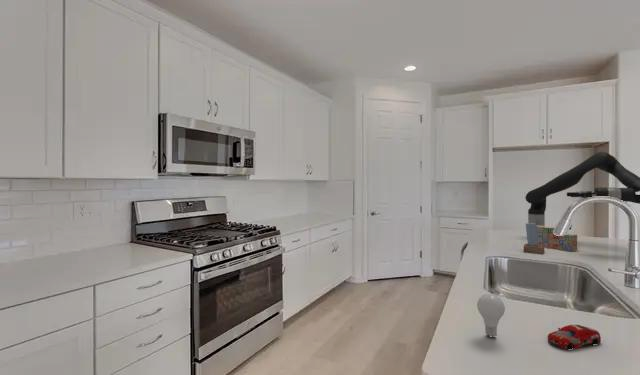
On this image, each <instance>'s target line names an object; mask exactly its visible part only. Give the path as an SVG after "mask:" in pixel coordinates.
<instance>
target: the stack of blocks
mask: <svg viewBox="0 0 640 375" xmlns="http://www.w3.org/2000/svg"><path fill="white" fill-rule="evenodd" d="M555 227H556V226H548V225H545V226H539V225H538V226H537V234H538V243H539V245H544V249H545V248H546V249H551V250H558V251H564V252H571V253H572V252H577V251H578V234H575V233H568V232H567V233H566V232H565V233H566V235H564V236H556V235H554V234H553V230H554V228H555Z"/></svg>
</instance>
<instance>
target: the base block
mask: <svg viewBox="0 0 640 375" xmlns="http://www.w3.org/2000/svg"><path fill="white" fill-rule="evenodd" d="M523 253H524V254H533V255H534V254H536V255H544V254H545V248H544V245H537V246H530V245H528V243H525V244H523Z"/></svg>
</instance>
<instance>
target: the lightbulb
mask: <svg viewBox="0 0 640 375" xmlns="http://www.w3.org/2000/svg"><path fill="white" fill-rule="evenodd" d="M476 307H477V311H478V313H479V314H480V316H481V318H482V319H483V323H484V327H485V328H484V330H485V332H484V333H486V334H487V335H489V336H496V337H497V336H498V334H497V332H498V331H497V330H498V326H499V322H500V320H501V318H502V317H503V316H504V315H505V312H506V308H505V304H504V302H503V300H502V299H501V298H500V297H498V296H497V295H496V294H491V293H487V294H486V293H485V294H483V295H481V296H480V297H479V298H478V300H477V304H476ZM486 334H485V335H486ZM487 335H486V336H487ZM489 336H488V337H489Z"/></svg>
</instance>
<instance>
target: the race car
mask: <svg viewBox="0 0 640 375" xmlns="http://www.w3.org/2000/svg"><path fill="white" fill-rule="evenodd" d="M557 329H558V330H555V331H552V332H550V333H548V334H547V342H548V343H549V344H551V345H553V346H555V347H557V348H560V349H564V350H567V349H572V348H573V349H574V348H575V349H578V347H580V348H584V347H583V346H585V347H590V346H589V345H591V346H593V344H597V345H599V344H601V338H602V337H601V334H600V332H599V331H597V330H596V329H593V328H591V327H588V326H583V325H580V324H568V325H565V326H563V327H561V328H560V327H558V328H557Z"/></svg>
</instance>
